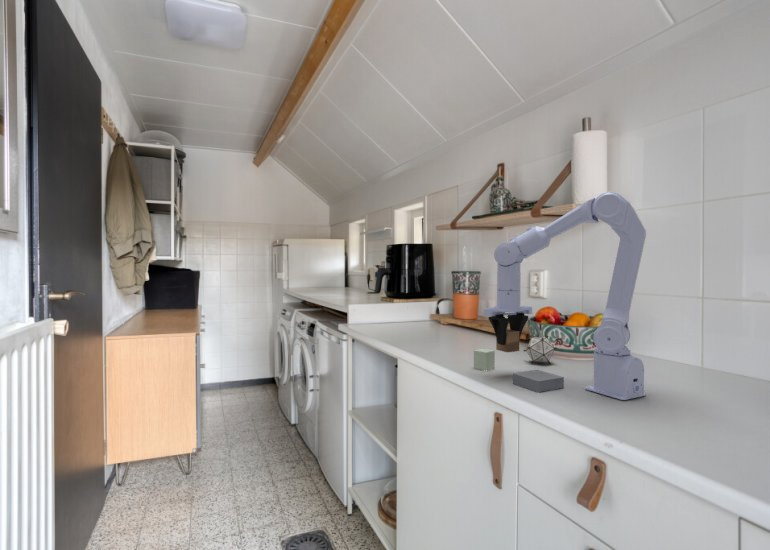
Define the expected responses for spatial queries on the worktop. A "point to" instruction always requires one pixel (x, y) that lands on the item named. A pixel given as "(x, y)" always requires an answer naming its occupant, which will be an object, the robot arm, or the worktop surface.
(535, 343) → the game die
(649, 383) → the worktop surface
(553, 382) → the slate tile
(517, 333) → the walnut block
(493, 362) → the sage block
